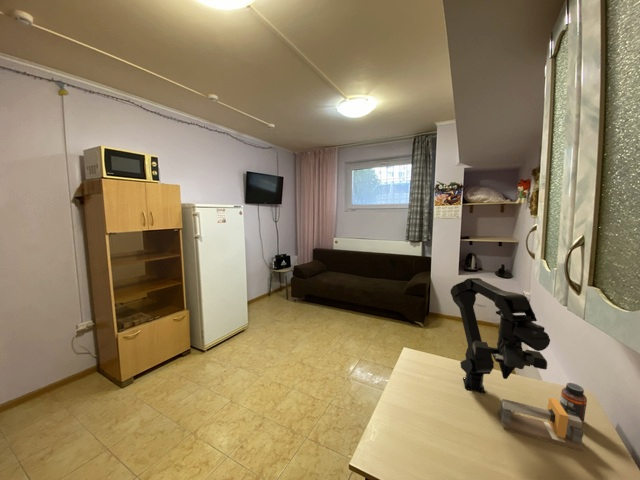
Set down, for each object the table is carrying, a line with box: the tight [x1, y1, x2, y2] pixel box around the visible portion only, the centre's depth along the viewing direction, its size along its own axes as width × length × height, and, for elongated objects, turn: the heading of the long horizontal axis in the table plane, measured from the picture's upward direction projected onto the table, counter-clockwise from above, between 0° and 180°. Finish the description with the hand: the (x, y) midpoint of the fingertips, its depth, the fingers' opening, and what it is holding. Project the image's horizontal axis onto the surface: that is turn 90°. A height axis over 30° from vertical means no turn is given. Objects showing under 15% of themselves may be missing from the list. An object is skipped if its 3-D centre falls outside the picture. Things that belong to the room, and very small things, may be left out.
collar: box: [546, 397, 569, 438], centre depth 78 cm, size 7×2×7 cm, turn 158°
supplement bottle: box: [559, 382, 588, 425], centre depth 84 cm, size 6×6×11 cm
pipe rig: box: [497, 398, 585, 452], centre depth 80 cm, size 7×19×7 cm, turn 68°
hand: (504, 378), depth 84 cm, fingers closed
